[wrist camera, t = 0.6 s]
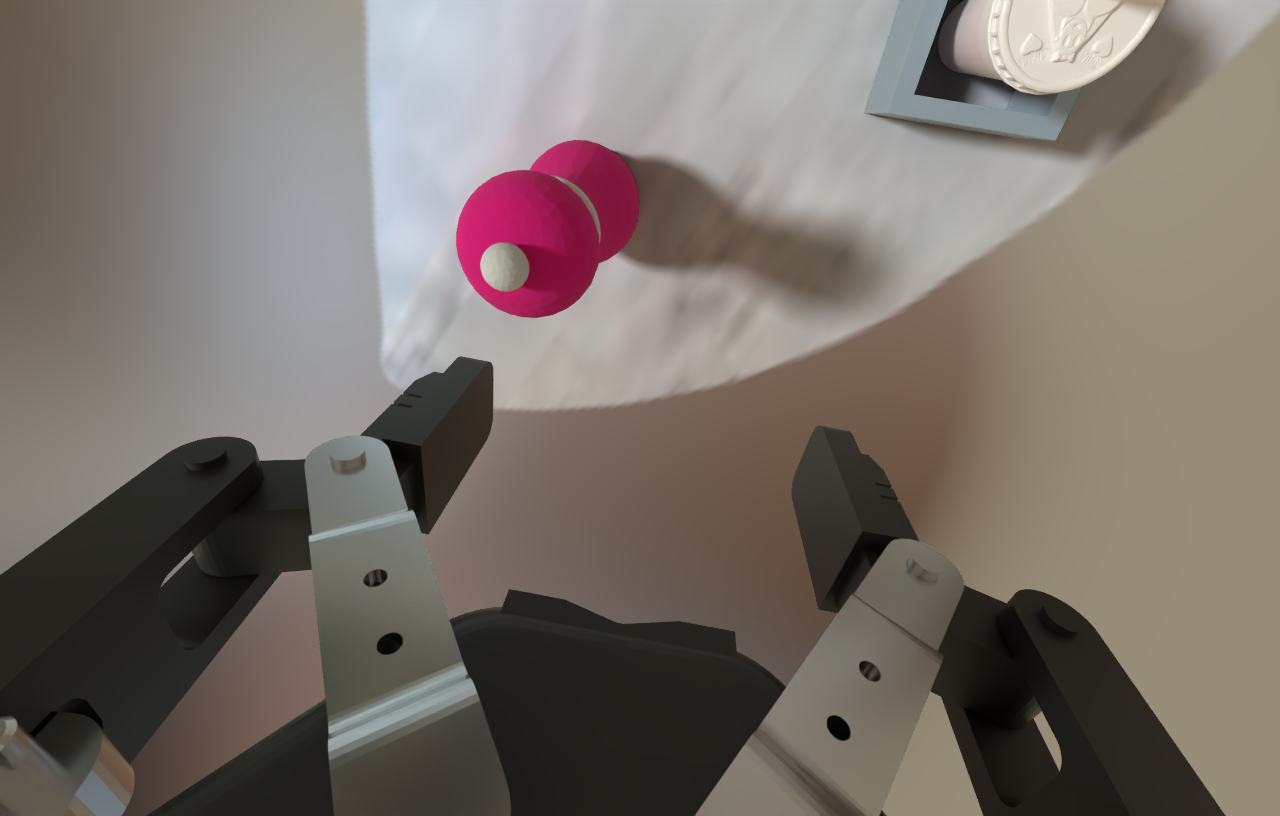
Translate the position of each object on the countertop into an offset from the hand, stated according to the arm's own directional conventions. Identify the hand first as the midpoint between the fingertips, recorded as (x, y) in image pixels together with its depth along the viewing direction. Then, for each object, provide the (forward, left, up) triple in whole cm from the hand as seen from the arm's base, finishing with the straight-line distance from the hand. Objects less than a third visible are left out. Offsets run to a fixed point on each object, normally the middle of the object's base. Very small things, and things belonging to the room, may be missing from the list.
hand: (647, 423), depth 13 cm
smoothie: (-13, +15, -27) cm, 33 cm away
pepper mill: (-1, -6, -27) cm, 28 cm away
